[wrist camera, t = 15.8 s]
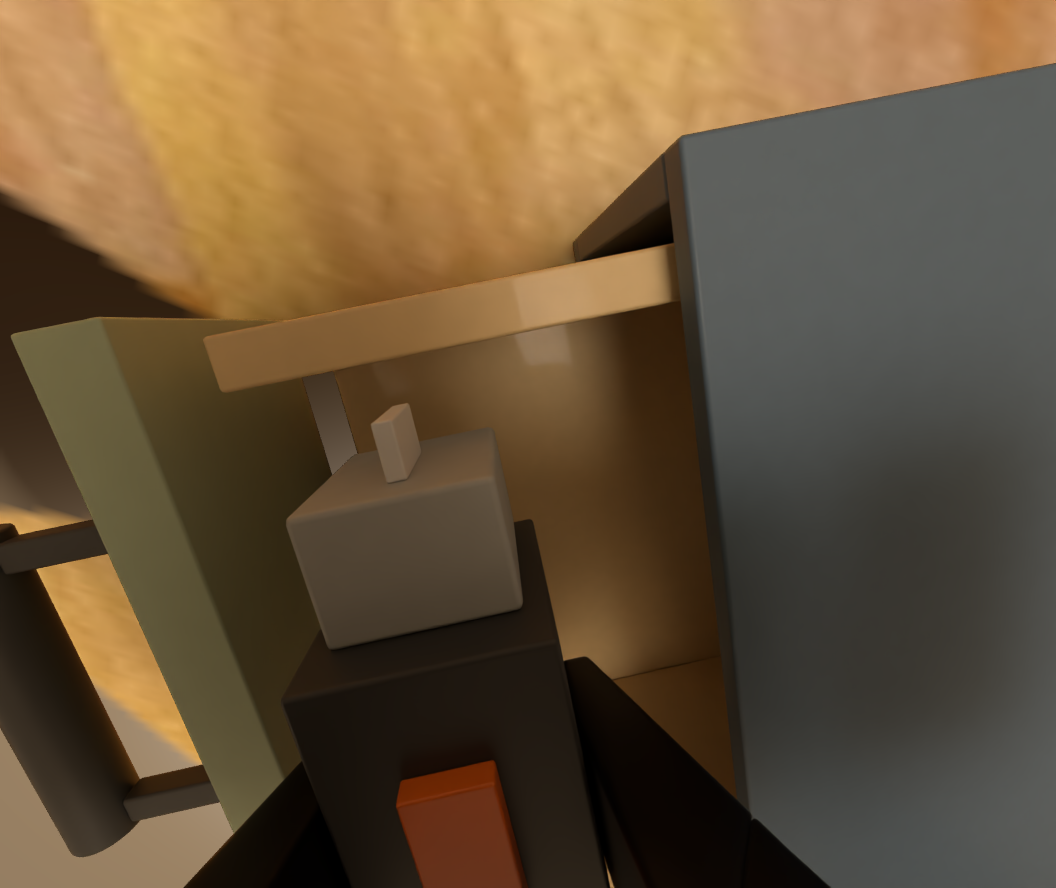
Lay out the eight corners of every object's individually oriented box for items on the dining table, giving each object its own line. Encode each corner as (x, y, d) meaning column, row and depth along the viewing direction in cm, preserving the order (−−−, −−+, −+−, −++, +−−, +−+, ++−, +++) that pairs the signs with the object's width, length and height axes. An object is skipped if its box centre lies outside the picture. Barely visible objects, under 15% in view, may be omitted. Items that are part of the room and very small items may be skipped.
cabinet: (643, 680, 17) (766, 967, 9) (572, 240, 13) (678, 133, 6) (1040, 591, 17) (1466, 798, 10) (1073, 141, 14) (1780, -79, 6)
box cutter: (591, 804, 9) (649, 1075, 6) (447, 837, 9) (423, 1130, 6) (503, 375, 7) (514, 419, 4) (317, 414, 7) (167, 492, 4)
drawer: (221, 777, 15) (56, 1058, 10) (41, 368, 12) (-377, 410, 6) (781, 652, 16) (953, 845, 10) (748, 227, 13) (973, 143, 7)
